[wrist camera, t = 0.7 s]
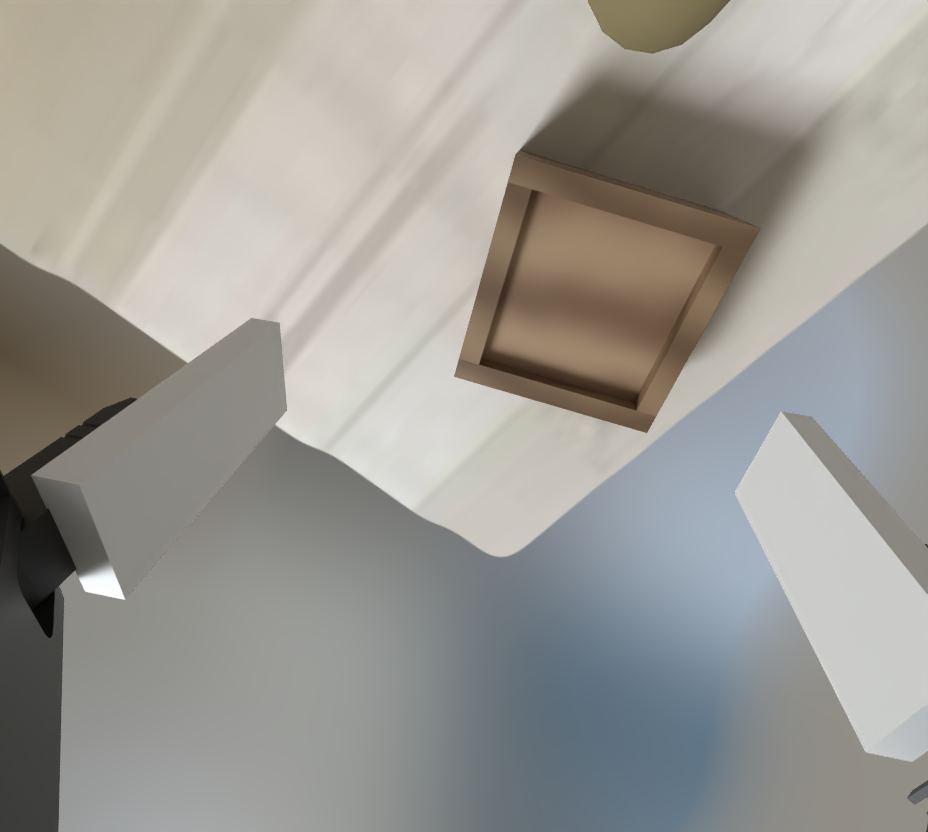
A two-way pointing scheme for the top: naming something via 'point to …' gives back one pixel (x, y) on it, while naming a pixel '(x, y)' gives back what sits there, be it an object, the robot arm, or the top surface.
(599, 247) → the walnut tray
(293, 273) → the top surface
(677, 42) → the squeeze bottle
